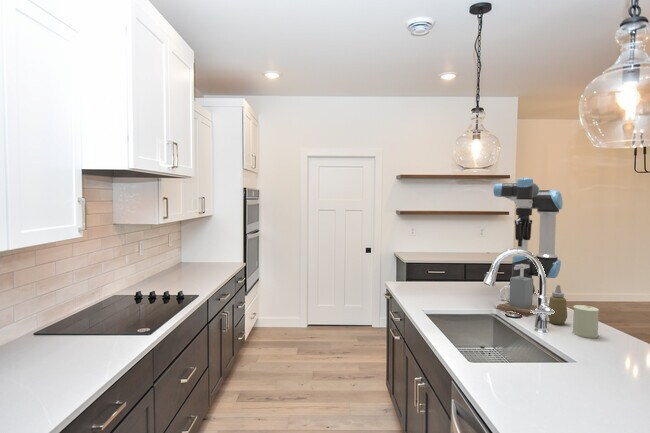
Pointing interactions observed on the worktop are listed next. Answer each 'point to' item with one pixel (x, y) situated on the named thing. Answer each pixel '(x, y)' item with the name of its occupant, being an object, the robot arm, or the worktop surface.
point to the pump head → (521, 269)
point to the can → (585, 321)
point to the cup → (506, 292)
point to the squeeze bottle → (558, 307)
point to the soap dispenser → (521, 292)
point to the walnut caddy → (516, 309)
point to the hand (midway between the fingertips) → (522, 252)
